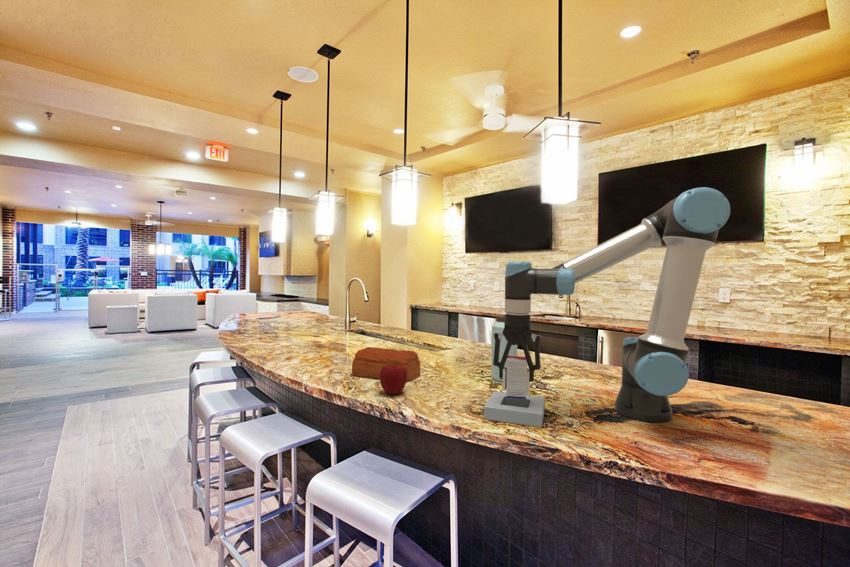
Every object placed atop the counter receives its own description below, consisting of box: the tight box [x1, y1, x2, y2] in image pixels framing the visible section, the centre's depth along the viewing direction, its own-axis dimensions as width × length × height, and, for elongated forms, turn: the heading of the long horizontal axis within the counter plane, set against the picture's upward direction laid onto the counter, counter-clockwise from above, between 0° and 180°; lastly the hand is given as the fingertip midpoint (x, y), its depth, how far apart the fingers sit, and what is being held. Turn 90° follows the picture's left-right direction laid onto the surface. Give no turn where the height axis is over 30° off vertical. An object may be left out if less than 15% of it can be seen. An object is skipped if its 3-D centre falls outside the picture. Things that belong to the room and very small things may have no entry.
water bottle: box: [490, 315, 518, 383], centre depth 153 cm, size 10×10×25 cm
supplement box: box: [505, 355, 528, 399], centre depth 115 cm, size 6×6×12 cm
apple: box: [379, 364, 407, 396], centre depth 133 cm, size 10×10×10 cm
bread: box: [351, 346, 421, 383], centre depth 158 cm, size 16×27×11 cm, turn 68°
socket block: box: [483, 391, 546, 428], centre depth 115 cm, size 16×16×4 cm
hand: (516, 390), depth 115 cm, fingers closed on supplement box, 6 cm apart
